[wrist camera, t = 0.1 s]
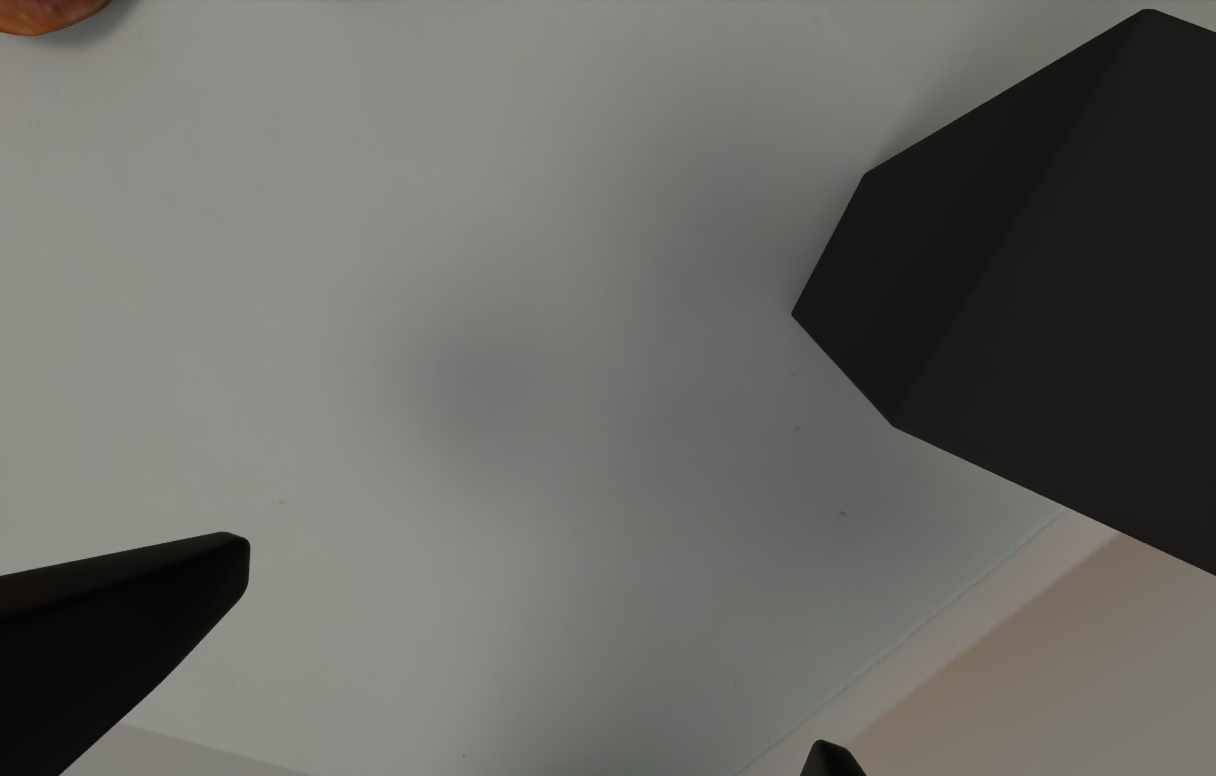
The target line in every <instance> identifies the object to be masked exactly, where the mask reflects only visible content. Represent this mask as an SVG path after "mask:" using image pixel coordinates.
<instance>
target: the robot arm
mask: <svg viewBox="0 0 1216 776" xmlns="http://www.w3.org/2000/svg"><path fill="white" fill-rule="evenodd" d="M249 564H250V544H249V541H248V540H247V539H245V538H243V537H241V536H238V535H235V534H232V533H229V532H217V533H212V534H207V535H202V536H197V537H192V538H187V539H182V540H177V541H172V542H167V543H162V544H157V545H152V546H147V547H142V548H137V549H132V550H127V551H122V552H117V553H112V554H107V555H102V556H97V557H92V558H87V559H82V560H77V561H72V562H67V563H62V564H57V565H52V566H47V567H42V568H37V569H32V570H27V571H22V572H17V573H12V574H7V575H2V576H0V776H59V775H60V774H61V773H63V772H64V771H65V770H66V769H67V768H68V767H69V766H70V765H71V764H72V763H74V762H75V761H76V760H77V759H78V758H79V757H80V756H81V755H82V754H83V753H85V752H86V751H87V750H88V749H89V748H90V747H91V746H92V745H93V744H94V743H95V742H97V741H98V740H99V739H100V738H101V737H102V736H103V735H104V734H105V733H106V732H108V731H109V730H110V729H111V728H112V727H113V726H114V725H115V724H116V723H118V722H119V721H120V720H121V719H122V718H123V717H124V716H125V715H126V714H127V713H129V712H130V711H131V710H132V709H133V708H134V707H135V706H136V705H137V704H138V703H140V702H141V701H142V700H143V699H144V698H145V697H146V696H147V695H148V694H149V693H151V692H152V691H153V690H154V689H155V688H156V687H157V686H158V685H159V684H160V683H161V682H162V681H163V680H164V679H165V678H166V677H167V676H168V675H169V674H170V673H171V672H172V671H173V670H174V669H175V668H176V667H177V666H178V665H179V664H180V663H181V662H182V661H183V660H184V658H185V657H186V656H187V655H188V654H189V653H190V652H191V651H192V650H193V649H194V648H195V647H196V646H197V645H198V643H199V642H200V641H201V640H202V639H203V638H204V637H205V636H206V635H207V634H208V633H209V632H210V631H211V630H212V628H213V627H214V626H215V625H216V624H217V623H218V622H219V621H220V620H221V619H222V618H223V617H224V616H225V615H226V613H227V612H228V611H229V610H230V609H231V608H232V607H233V606H234V605H235V604H236V603H237V602H238V601H239V600H240V598H241V597H242V596H243V594H244V592H245V590H246V588H247V585H248V581H249ZM800 776H866V774H865V773H864V771H863V770H862V768H861V767H860V766H859V764H858V763H857V761H856V760H855V758H854V757H853V756H852V754H851V753H850V752H849V751H848V750H847V749H846V748H844V747H842V746H839V745H836V744H833V743H830V742H827V741H824V740H817V741H816V742H815V743H814V744H813V746H812V748H811V750H810V753H809V755H808V757H807V760H806V762H805V765H804V767H803V769H802V772H801V774H800Z"/></svg>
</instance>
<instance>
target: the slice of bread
mask: <svg viewBox="0 0 1216 776" xmlns="http://www.w3.org/2000/svg"><path fill="white" fill-rule="evenodd" d="M110 2H111V0H0V32H3V33H8V34H15V35H23V36H36V35H41V34H46V33H49V32H53V31H57V30H60V29H63V28H65V27H68V26H71V25H73V24H75V23H77V22H80V21H82V20H84V19H86V18H88V17H90V16H92V15H94V14H96V13H97V12H99V11H100V10H102V9H103V8H104V7H105V6H106V5H108V4H109V3H110Z"/></svg>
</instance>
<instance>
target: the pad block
mask: <svg viewBox="0 0 1216 776" xmlns="http://www.w3.org/2000/svg"><path fill="white" fill-rule="evenodd" d="M791 315H792V317H793V318H794V319H795V320H796V321H797V322H798V323H799V324H800V325H801V326H802V327H803V329H804V330H805V331H806V332H807V333H808V334H809V335H810V336H811V337H812V338H813V340H814V341H815V342H816V343H817V344H818V345H819V346H820V347H821V348H822V349H823V351H824V352H825V353H826V354H827V355H828V356H829V357H830V358H831V359H832V360H833V361H834V363H835V364H836V365H837V366H838V367H839V368H840V369H841V370H842V371H843V372H844V374H845V375H846V376H847V377H848V378H849V379H850V380H851V381H852V382H853V383H854V385H855V386H856V387H857V388H858V389H859V390H860V391H861V392H862V393H863V394H864V396H865V397H866V398H867V399H868V400H869V401H870V402H871V403H872V404H873V405H874V406H875V408H876V409H877V410H878V411H879V412H880V413H881V414H882V415H883V416H884V417H885V419H886V420H887V421H888V422H889V423H890V424H891V425H892V426H893V427H895V428H897V429H899V430H901V431H903V432H906V433H908V434H910V435H912V436H914V437H916V438H919V439H921V440H923V441H925V442H927V443H929V444H931V445H934V446H936V447H938V448H940V449H942V450H944V451H947V452H949V453H951V454H953V455H955V456H957V457H960V458H962V459H964V460H966V461H968V462H970V463H973V464H975V465H977V466H979V467H981V468H983V469H986V470H988V471H990V472H992V473H994V474H996V475H999V476H1001V477H1003V478H1005V479H1007V480H1009V481H1012V482H1014V483H1016V484H1018V485H1020V486H1022V487H1025V488H1027V489H1029V490H1031V491H1033V492H1035V493H1038V494H1040V495H1042V496H1044V497H1046V498H1048V499H1051V500H1053V501H1055V502H1057V503H1059V504H1061V505H1064V506H1066V507H1068V508H1070V509H1072V510H1074V511H1077V512H1079V513H1081V514H1083V515H1085V516H1087V517H1090V518H1092V519H1094V520H1096V521H1098V522H1100V523H1103V524H1105V525H1107V526H1109V527H1111V528H1113V529H1115V530H1118V531H1120V532H1122V533H1124V534H1126V535H1128V536H1131V537H1133V538H1135V539H1137V540H1139V541H1141V542H1144V543H1146V544H1148V545H1150V546H1152V547H1155V548H1157V549H1159V550H1161V551H1163V552H1165V553H1168V554H1170V555H1172V556H1174V557H1176V558H1178V559H1181V560H1183V561H1185V562H1187V563H1189V564H1191V565H1194V566H1196V567H1198V568H1200V569H1202V570H1204V571H1207V572H1209V573H1211V574H1213V575H1215V576H1216V32H1213V31H1211V30H1208V29H1205V28H1203V27H1200V26H1197V25H1195V24H1192V23H1189V22H1187V21H1184V20H1181V19H1179V18H1176V17H1173V16H1171V15H1168V14H1165V13H1163V12H1160V11H1157V10H1155V9H1143V10H1141V11H1139V12H1137V13H1136V14H1134V15H1132V16H1130V17H1129V18H1127V19H1125V20H1124V21H1122V22H1120V23H1119V24H1117V25H1115V26H1114V27H1112V28H1110V29H1109V30H1107V31H1105V32H1103V33H1102V34H1100V35H1098V36H1097V37H1095V38H1093V39H1092V40H1090V41H1088V42H1087V43H1085V44H1083V45H1081V46H1080V47H1078V48H1076V49H1075V50H1073V51H1071V52H1070V53H1068V54H1066V55H1065V56H1063V57H1061V58H1060V59H1058V60H1056V61H1054V62H1053V63H1051V64H1049V65H1048V66H1046V67H1044V68H1043V69H1041V70H1039V71H1038V72H1036V73H1034V74H1032V75H1031V76H1029V77H1027V78H1026V79H1024V80H1022V81H1021V82H1019V83H1017V84H1016V85H1014V86H1012V87H1010V88H1009V89H1007V90H1005V91H1004V92H1002V93H1000V94H999V95H997V96H995V97H994V98H992V99H990V100H989V101H987V102H985V103H983V104H982V105H980V106H978V107H977V108H975V109H973V110H972V111H970V112H968V113H967V114H965V115H963V116H961V117H960V118H958V119H956V120H955V121H953V122H951V123H950V124H948V125H946V126H945V127H943V128H941V129H940V130H938V131H936V132H934V133H933V134H931V135H929V136H928V137H926V138H924V139H923V140H921V141H919V142H918V143H916V144H914V145H912V146H911V147H909V148H907V149H906V150H904V151H902V152H901V153H899V154H897V155H896V156H894V157H892V158H890V159H889V160H887V161H885V162H884V163H882V164H880V165H879V166H877V167H875V168H874V169H872V170H870V171H869V172H867V173H865V174H864V175H863V177H862V179H861V181H860V183H859V185H858V187H857V189H856V191H855V193H854V194H853V196H852V198H851V200H850V202H849V204H848V206H847V208H846V210H845V212H844V214H843V215H842V217H841V219H840V221H839V223H838V225H837V227H836V229H835V231H834V233H833V234H832V236H831V238H830V240H829V242H828V244H827V246H826V248H825V250H824V252H823V253H822V255H821V257H820V259H819V261H818V263H817V265H816V267H815V269H814V271H813V273H812V274H811V276H810V278H809V280H808V282H807V284H806V286H805V288H804V290H803V292H802V293H801V295H800V297H799V299H798V301H797V303H796V305H795V307H794V309H793V311H792V312H791Z"/></svg>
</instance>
